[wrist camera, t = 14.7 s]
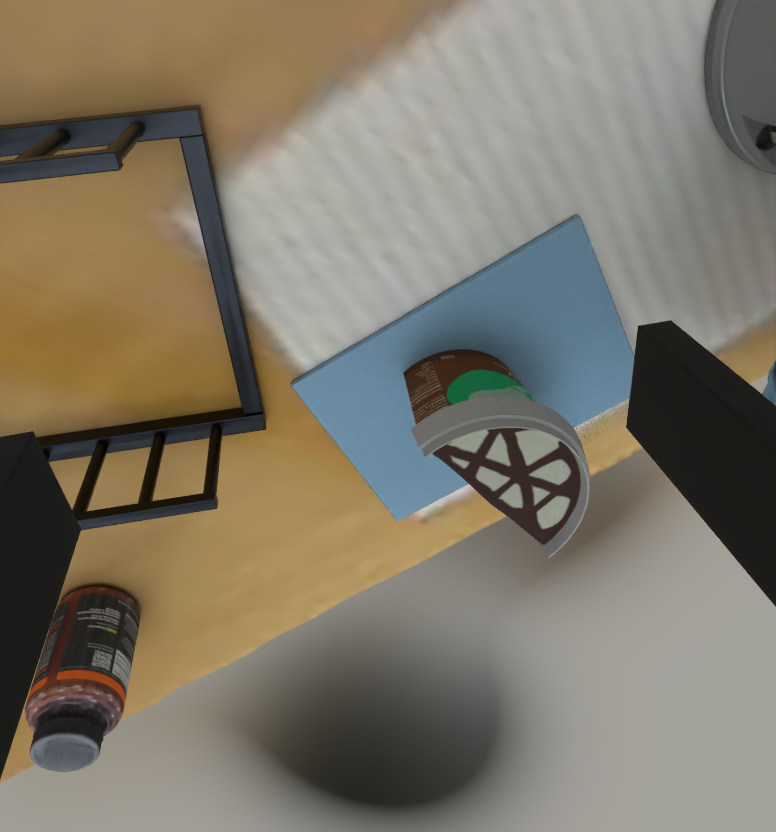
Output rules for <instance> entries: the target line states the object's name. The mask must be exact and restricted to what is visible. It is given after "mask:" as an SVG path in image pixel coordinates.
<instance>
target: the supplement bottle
mask: <svg viewBox="0 0 776 832" xmlns="http://www.w3.org/2000/svg"><path fill="white" fill-rule="evenodd" d="M139 621H140V611H139V608H138V606H137V604H136V602H135V601H134V600H133V599H132V598H131V597H130V596H128V595H127V594H125V593H124V592H121V591H119V590H116V589H113V588H108V587H101V586H100V587H97V586H96V587H87V588H83V589H79V590H76V591H74V592H72V593H70V594H68V595H67V596H66V597H65V598H63V600H62V601H61V602H60V603H59V605H58V607H57V609H56V612H55V614H54V617H53V620H52V623H51V626H50V629H49V633H48V636H47V639H46V642H45V645H44V648H43V651H42V655H41V658H40V661H39V665H38V668H37V671H36V674H35V677H34V680H33V684H32V687H31V691H30V693H29V697H28V700H27V703H26V708H25V715H26V720H27V722H28V725H29V727H30V728H31V729H32V730H33V732H34V735H33V741H32V744H31V748H30V756H31V759H32V760H33V761H34V762H35V763H36V764H37V765H38V766H40V767H42V768H45V769H47V770H52V771H60V772H68V771H75V770H79V769H82V768H84V767H87V766H89V765H90V764H92V763H93V762H94V761H95V760H96V759H97V758H98V756H99V753H100V748H101V743H102V741H103V736H105V735H106V734H108V733H109V732H111V731H112V730H113V729H114V728H115V727H116V726H117V724H118V722H119V721H120V719H121V717H122V713H123V710H124V705H125V699H126V695H127V689H128V683H129V677H130V672H131V667H132V661H133V655H134V650H135V644H136V639H137V633H138V628H139Z"/></svg>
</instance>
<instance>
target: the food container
mask: <svg viewBox="0 0 776 832" xmlns="http://www.w3.org/2000/svg"><path fill="white" fill-rule="evenodd" d="M403 374H404V378H405V382H406V386H407V391H408V395H409V399H410V403H411V407H412V411H413V415H414V419H415V423H416V425H415V426H414V427H412V428H411V431H412V433H413V435H414V438H415V440H416V442H417V444H418V446H419V447H420V448H421V449H422V451H423V454H424V456H425V458H426V457H428V456H429V455H430V454H433V455H434V456H435V457H437V458H439V459H440V460H442V461H443V462H444V463H446V464H447V465H448V466H449V467H450V468H451V469H453V470H454V471H455V472H456V473H457V474H458V475H459V476H461V477H462V478H463V479H464V480H465V481H466V482H467V483H469V484H470V485H471V486H472V487H473V488H474V489H475V490H476V491H477V492H478V493H479V494H480V495H482V496H483V497H484V498H485V499H486V500H487V501H488V502H489V503H490V504H492V505H493V506H494V507H496V508H497V509H498V510H500V511H501V512H502V513H504V514H505V515H507V516H508V517H509V518H511V519H512V520H513V521H515V522H516V523H517V524H518V525H519V526H520V527H522V528H523V529H524V530H525V531H527V532H528V533H529V534H530V535H531V536H533V537H534V538H535V539H536V540H537V541H539V543H540V545H541V547H542V549H543V551H544V552H545V554H546V556H547V558H549V557H551V556H552V555H553V554H554V553H556V552H557V551H558V550H559V549H560V548H561V547H562V546H563V545H564V544H565V543H566V542H567V541H568V540H569V539H570V537H571V536H572V535H573V533H574V532H575V530H576V529H577V528H578V526H579V524H580V522H581V520H582V518H583V516H584V513H585V510H586V508H587V503H588V498H589V469H588V465H587V461H586V457H585V454H584V451H583V447H582V444H581V442H580V439H579V437H578V435H577V433H576V431H575V430H574V429H573V427H572V426H571V425H570V424H569V422H568V421H567V420H566V419H565V418H563V417H562V416H561V415H560V414H559V413H557V412H556V411H555V410H553V409H551V408H549V407H547V406H545V405H544V404H541V403H538V402H536V401H535V400H534V398H533V397H532V396H531V395H530V394H529V392H528V391H527V390H526V389H525V388H524V386H523V385H522V384H521V383H520V381H519V380H518V379H517V378H516V377H515V375H514V374H513V373H512V372H511V371H510V369H509V368H508V367H507V366H506V365H505V364H504V363H503V362H501V361H500V360H499V359H497V358H496V357H494V356H492V355H490V354H487V353H484V352H481V351H476V350H470V349H456V350H448V351H444V352H440V353H436V354H433V355H431V356H429V357H426V358H424V359H422V360H420V361H419V362H417V363H415V364H414V365H412V366H411V367H410V368H408V369H407V370H406V371H405V372H403Z"/></svg>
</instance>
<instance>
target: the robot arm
mask: <svg viewBox="0 0 776 832" xmlns="http://www.w3.org/2000/svg"><path fill="white" fill-rule="evenodd" d="M705 80H706V91H707V98H708V103H709V107H710V111H711V114H712V117H713V120H714V122H715V125H716V127H717V129H718V131H719V133H720V135H721V136H722V138H723V139H724V141H725V142H726V144H727V145H728V146H729V147H730V148H731V149H732V151H733V152H734V153H735V154H737V155H738V156H739V157H740V158H741V159H743V160H744V161H746V162H747V163H749V164H751V165H752V166H755V167H757V168H759V169H761V170H764V171H767V172H770V173H772V174H775V175H776V0H718V2H717V5H716V8H715V12H714V15H713V19H712V22H711V27H710V32H709V36H708V42H707V50H706V63H705ZM626 428H627V429H628V430H629V431H630V432H631V434H632V435H633V436H634V437H635V438H636V440H637V441H638V442H639V443H640V444H641V446H642V447H643V448H644V449H645V450H646V452H647V453H648V454H649V455H650V456H651V458H652V459H653V460H654V461H655V462H656V464H657V465H658V466H659V467H660V468H661V470H662V471H663V472H664V473H665V474H666V476H667V477H668V478H669V479H670V480H671V482H672V483H673V484H674V485H675V486H676V488H677V489H678V490H679V491H680V492H681V494H682V495H683V496H684V497H685V498H686V499H687V501H688V502H689V503H690V504H691V506H692V507H693V508H694V509H695V510H696V512H697V513H698V514H699V515H700V516H701V518H702V519H703V520H704V521H705V522H706V523H707V525H708V526H709V527H710V528H711V529H712V531H713V532H714V533H715V534H716V536H717V537H718V538H719V539H720V540H721V542H722V543H723V544H724V545H725V546H726V548H727V549H728V550H729V551H730V552H731V554H732V555H733V556H734V557H735V558H736V560H737V561H738V562H739V563H740V564H741V566H742V567H743V568H744V569H745V570H746V571H747V573H748V574H749V575H750V576H751V578H752V579H753V580H754V581H755V582H756V584H757V585H758V586H759V587H760V588H761V590H762V591H763V592H764V593H765V594H766V596H767V597H768V598H769V599H770V600H771V602H772V603H773V604H774V605H775V606H776V361H775V363H774V364H773V366H772V367H771V369H770V371H769V375H768V384H767V386H766V388H765V390H764V391H763V393H762V394H761V393H760V392H758V391H757V390H756V389H755V388H753V387H752V386H751V385H750V384H749V383H747V382H746V381H745V380H744V379H742V378H741V377H740V376H739V375H737V374H736V373H735V372H734V371H733V370H731V369H730V368H729V367H728V366H726V365H725V364H724V363H723V362H721V361H720V360H719V359H718V358H717V357H715V356H714V355H713V354H712V353H710V352H709V351H708V350H707V349H705V348H704V347H703V346H702V345H701V344H699V343H698V342H697V341H696V340H694V339H693V338H692V337H691V336H689V335H688V334H687V333H686V332H684V331H683V330H682V329H681V328H680V327H678V326H677V325H676V324H675V323H673V322H672V321H671V320H670V321H664V322H659V323H653V324H647V325H641V326H638V331H637V340H636V348H635V357H634V365H633V374H632V382H631V391H630V400H629V408H628V417H627V425H626ZM80 531H81V528H80V525H79V523H78V521H77V519H76V517H75V515H74V513H73V511H72V509H71V507H70V505H69V503H68V501H67V499H66V497H65V495H64V493H63V491H62V489H61V487H60V485H59V483H58V481H57V479H56V477H55V475H54V473H53V471H52V469H51V467H50V465H49V463H48V461H47V459H46V456H45V454H44V452H43V450H42V448H41V446H40V444H39V442H38V440H37V438H36V436H35V434H34V432H33V431H32V432H27V433H21V434H15V435H9V436H4V437H0V778H1V775H2V772H3V769H4V766H5V763H6V760H7V757H8V754H9V751H10V748H11V744H12V741H13V738H14V735H15V732H16V729H17V726H18V723H19V720H20V717H21V714H22V710H23V707H24V704H25V701H26V698H27V695H28V692H29V689H30V686H31V683H32V680H33V676H34V673H35V670H36V667H37V664H38V661H39V658H40V655H41V652H42V649H43V646H44V642H45V639H46V636H47V633H48V630H49V627H50V624H51V621H52V618H53V615H54V612H55V608H56V605H57V602H58V599H59V596H60V593H61V590H62V587H63V584H64V581H65V577H66V574H67V571H68V568H69V565H70V562H71V559H72V556H73V553H74V550H75V547H76V543H77V540H78V537H79V534H80Z"/></svg>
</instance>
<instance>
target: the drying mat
mask: <svg viewBox="0 0 776 832" xmlns="http://www.w3.org/2000/svg"><path fill="white" fill-rule="evenodd" d="M456 349H470V350H476V351H481V352H484V353H487V354H490V355H492V356H494V357H496V358H497V359H499V360H500V361H501V362H503V363H504V364H505V365H506V366H507V367H508V368H509V369H510V371H511V372H512V373H513V374H514V375H515V377H516V378H517V379H518V380H519V381H520V383H521V384H522V385H523V386H524V388H525V389H526V390H527V391H528V392H529V394H530V395H531V396H532V397H533V398H534V400H535V401H536V402H538V403H541V404H544V405H545V406H547V407H549V408H551V409H553V410H555V411H556V412H557V413H559V414H560V415H561V416H562V417H563V418H565V419H566V420H567V421H568V422H569V424H570V425H571V426H572V427H573V428H574V427H576V426H577V425H579V424H581V423H583V422H585V421H587V420H589V419H591V418H592V417H594V416H596V415H598V414H600V413H602V412H604V411H606V410H607V409H609V408H611V407H613V406H615V405H617V404H619V403H621V402H622V401H624V400H626V399H628V398H630V391H631V382H632V374H633V365H634V355H633V352H632V350H631V347H630V344H629V342H628V339H627V337H626V334H625V331H624V329H623V326H622V324H621V321H620V318H619V316H618V313H617V311H616V308H615V306H614V303H613V300H612V298H611V295H610V293H609V290H608V287H607V285H606V282H605V280H604V277H603V274H602V272H601V269H600V267H599V264H598V261H597V259H596V256H595V254H594V251H593V248H592V246H591V243H590V241H589V238H588V236H587V233H586V230H585V228H584V225H583V223H582V220H581V217H580V216H578V215H576V216H574V217H572V218H571V219H569V220H567V221H565V222H564V223H562V224H560V225H559V226H557V227H555V228H554V229H552V230H550V231H548V232H547V233H545V234H543V235H542V236H540V237H538V238H536V239H535V240H533V241H531V242H530V243H528V244H526V245H525V246H523V247H521V248H519V249H518V250H516V251H514V252H513V253H511V254H509V255H507V256H506V257H504V258H502V259H501V260H499V261H497V262H496V263H494V264H492V265H490V266H489V267H487V268H485V269H484V270H482V271H480V272H479V273H477V274H475V275H473V276H472V277H470V278H468V279H467V280H465V281H463V282H461V283H460V284H458V285H456V286H455V287H453V288H451V289H450V290H448V291H446V292H444V293H443V294H441V295H439V296H438V297H436V298H434V299H432V300H431V301H429V302H427V303H426V304H424V305H422V306H421V307H419V308H417V309H415V310H414V311H412V312H410V313H409V314H407V315H405V316H403V317H402V318H400V319H398V320H397V321H395V322H393V323H392V324H390V325H388V326H386V327H385V328H383V329H381V330H380V331H378V332H376V333H375V334H373V335H371V336H369V337H368V338H366V339H364V340H363V341H361V342H359V343H357V344H356V345H354V346H352V347H351V348H349V349H347V350H346V351H344V352H342V353H340V354H339V355H337V356H335V357H334V358H332V359H330V360H328V361H327V362H325V363H323V364H322V365H320V366H318V367H317V368H315V369H313V370H311V371H310V372H308V373H306V374H305V375H303V376H301V377H299V378H298V379H296V380H294V381H293V382H291V386H292V388H293V389H294V390H295V391H296V393H297V394H298V395H299V397H300V398H301V399H302V400H303V402H304V403H305V404H306V405H307V407H308V408H309V409H310V411H311V412H312V413H313V414H314V416H315V417H316V418H317V419H318V421H319V422H320V423H321V425H322V426H323V427H324V428H325V430H326V431H327V432H328V433H329V435H330V436H331V437H332V439H333V440H334V441H335V442H336V444H337V445H338V446H339V447H340V449H341V450H342V451H343V453H344V454H345V455H346V456H347V458H348V459H349V460H350V461H351V463H352V464H353V465H354V467H355V468H356V469H357V470H358V472H359V473H360V474H361V476H362V477H363V478H364V479H365V481H366V482H367V483H368V484H369V486H370V487H371V488H372V490H373V491H374V492H375V493H376V495H377V496H378V497H379V498H380V500H381V501H382V502H383V504H384V505H385V506H386V507H387V509H388V510H389V511H390V512H391V514H392V515H393V516H394V518H395V519H396V520H397V521H399V520H401V519H403V518H405V517H407V516H409V515H410V514H412V513H414V512H416V511H418V510H420V509H422V508H424V507H425V506H427V505H429V504H431V503H433V502H435V501H437V500H439V499H440V498H442V497H444V496H446V495H448V494H450V493H452V492H454V491H455V490H457V489H459V488H461V487H463V486H465V485H467V484H469V483H467V482H466V481H465V480H464V479H463V478H462V477H461V476H459V475H458V474H457V473H456V472H455V471H454V470H453V469H451V468H450V467H449V466H448V465H447V464H446V463H444V462H443V461H442V460H440V459H439V458H437V457H435V456H434V455H433V454H430V455H429V456H428V457H426V458H425V456H424V454H423V451H422V449H421V448H420V447H419V446H418V444H417V442H416V440H415V438H414V435H413V433H412V431H411V428H412V427H414V426H415V425H416V423H415V419H414V415H413V411H412V407H411V403H410V399H409V395H408V391H407V386H406V382H405V378H404V374H403V372H405V371H406V370H407V369H408V368H410V367H411V366H412V365H414V364H415V363H417V362H419V361H420V360H422V359H424V358H426V357H429V356H431V355H433V354H436V353H440V352H444V351H448V350H456Z"/></svg>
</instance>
